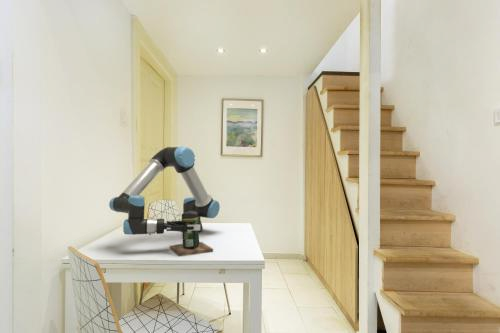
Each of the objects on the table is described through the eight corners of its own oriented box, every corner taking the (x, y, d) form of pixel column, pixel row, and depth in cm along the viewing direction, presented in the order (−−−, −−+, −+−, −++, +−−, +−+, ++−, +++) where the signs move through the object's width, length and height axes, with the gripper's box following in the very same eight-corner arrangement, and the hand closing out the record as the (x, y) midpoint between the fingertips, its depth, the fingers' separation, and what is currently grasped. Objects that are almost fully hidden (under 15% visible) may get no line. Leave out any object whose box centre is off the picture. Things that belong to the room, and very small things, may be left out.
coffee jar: (187, 244, 165) (186, 210, 166) (200, 244, 164) (199, 209, 165) (180, 248, 155) (179, 212, 156) (195, 248, 154) (193, 211, 155)
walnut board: (201, 244, 171) (201, 241, 171) (212, 251, 157) (213, 248, 157) (170, 248, 162) (170, 245, 162) (179, 256, 148) (179, 253, 148)
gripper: (156, 228, 166) (196, 227, 172) (155, 239, 143) (201, 237, 149) (157, 215, 166) (197, 214, 172) (155, 223, 143) (201, 222, 149)
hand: (199, 225), depth 160 cm, fingers open, 11 cm apart
